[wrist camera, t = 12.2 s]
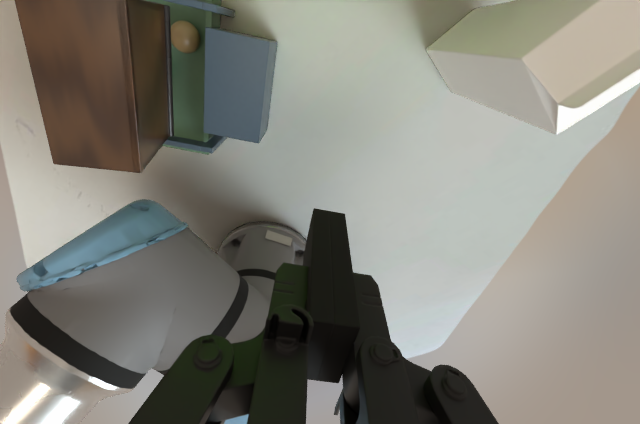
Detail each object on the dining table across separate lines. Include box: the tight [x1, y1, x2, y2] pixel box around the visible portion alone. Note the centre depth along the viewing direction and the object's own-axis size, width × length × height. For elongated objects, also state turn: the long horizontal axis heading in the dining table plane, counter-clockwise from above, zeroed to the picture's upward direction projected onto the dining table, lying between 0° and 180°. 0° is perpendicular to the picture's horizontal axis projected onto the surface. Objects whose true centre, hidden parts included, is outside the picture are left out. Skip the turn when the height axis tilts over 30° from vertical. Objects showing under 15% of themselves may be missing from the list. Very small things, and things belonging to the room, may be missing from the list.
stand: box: [163, 0, 277, 153], centre depth 33 cm, size 14×10×7 cm
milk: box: [426, 0, 640, 135], centre depth 25 cm, size 6×6×22 cm
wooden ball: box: [171, 20, 201, 53], centre depth 32 cm, size 3×3×3 cm
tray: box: [146, 0, 221, 155], centre depth 34 cm, size 17×17×3 cm
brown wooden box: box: [15, 0, 174, 173], centre depth 25 cm, size 12×10×6 cm
